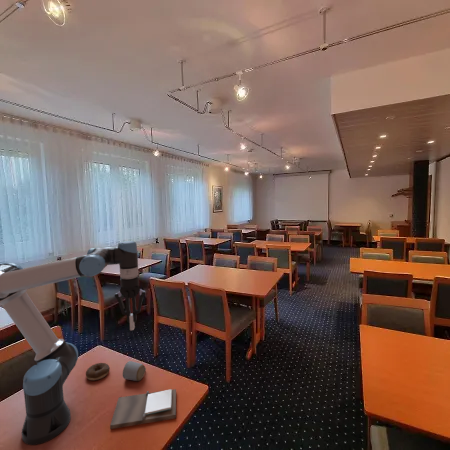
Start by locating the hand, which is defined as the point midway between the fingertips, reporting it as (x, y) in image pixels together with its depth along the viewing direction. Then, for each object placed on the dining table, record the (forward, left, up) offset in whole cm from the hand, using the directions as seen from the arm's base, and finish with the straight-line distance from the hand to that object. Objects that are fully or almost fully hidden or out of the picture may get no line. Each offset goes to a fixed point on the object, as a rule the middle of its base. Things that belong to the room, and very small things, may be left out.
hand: (132, 328), depth 114 cm
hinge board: (+6, -13, -28) cm, 32 cm away
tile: (+11, -13, -25) cm, 31 cm away
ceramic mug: (-1, +9, -29) cm, 30 cm away
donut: (-20, +14, -29) cm, 38 cm away
